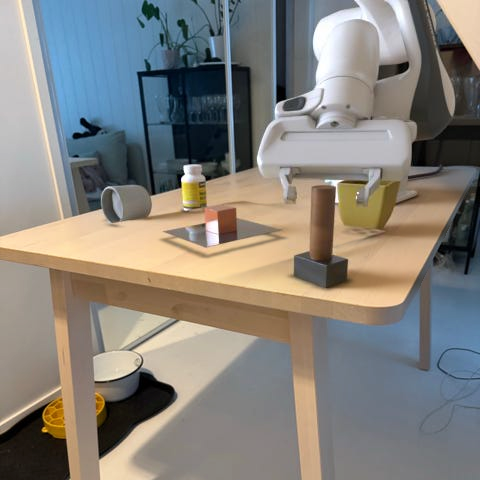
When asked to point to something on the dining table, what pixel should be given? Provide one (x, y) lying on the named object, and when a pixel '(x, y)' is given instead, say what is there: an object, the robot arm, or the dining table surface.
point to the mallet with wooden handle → (321, 243)
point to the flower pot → (377, 206)
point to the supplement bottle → (193, 187)
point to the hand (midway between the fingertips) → (324, 202)
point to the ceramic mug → (125, 203)
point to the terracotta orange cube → (221, 219)
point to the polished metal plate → (207, 239)
